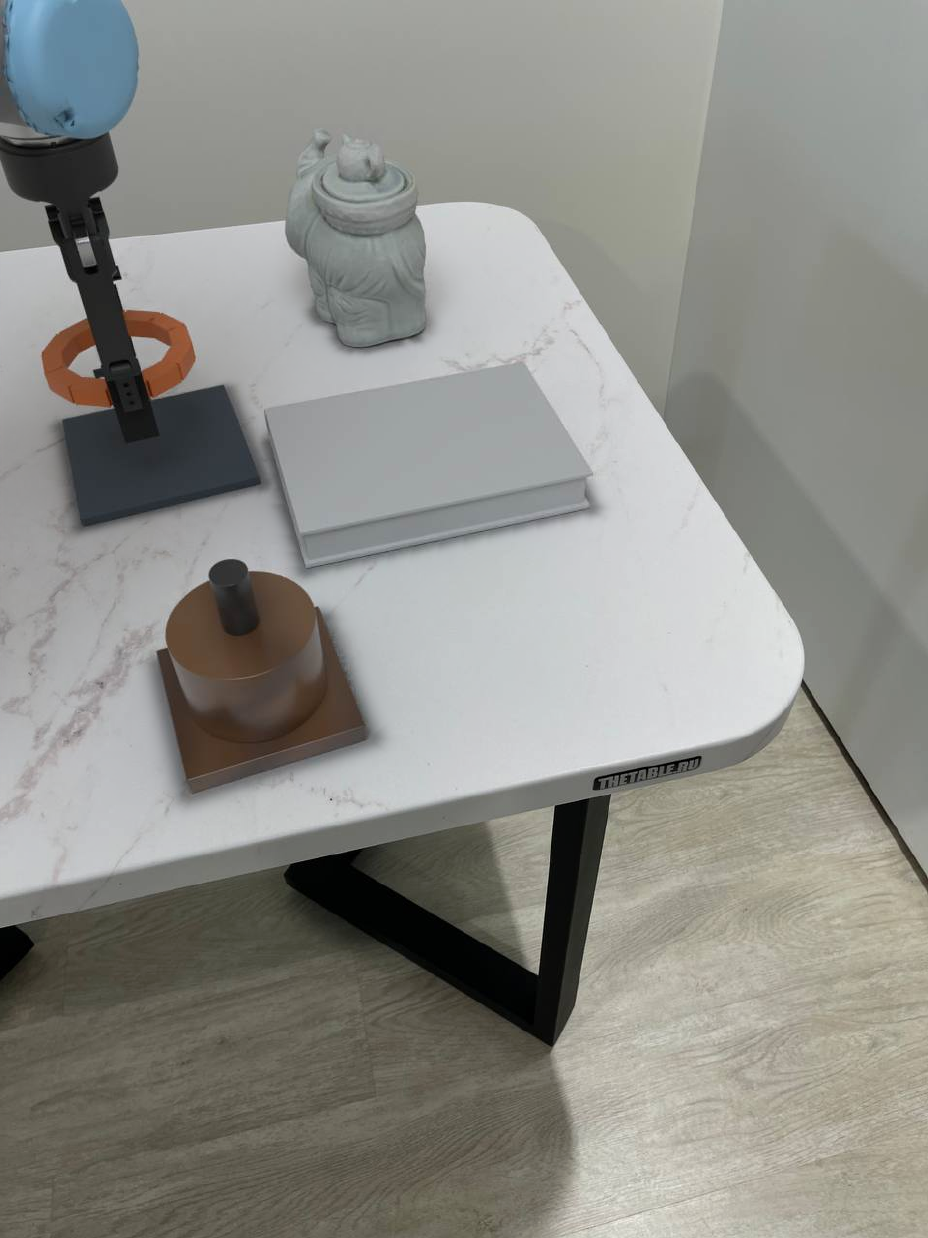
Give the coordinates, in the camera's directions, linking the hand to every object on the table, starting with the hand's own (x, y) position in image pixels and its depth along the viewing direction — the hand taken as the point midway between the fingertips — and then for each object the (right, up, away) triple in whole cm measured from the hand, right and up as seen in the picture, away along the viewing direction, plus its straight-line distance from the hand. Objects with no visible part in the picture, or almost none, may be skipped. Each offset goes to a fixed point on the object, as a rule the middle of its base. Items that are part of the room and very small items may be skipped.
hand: (130, 395), depth 85 cm
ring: (0, +2, -2) cm, 3 cm away
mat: (+1, -4, +6) cm, 7 cm away
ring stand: (+14, -24, -14) cm, 31 cm away
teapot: (+17, +14, +23) cm, 32 cm away
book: (+24, -6, +4) cm, 25 cm away
